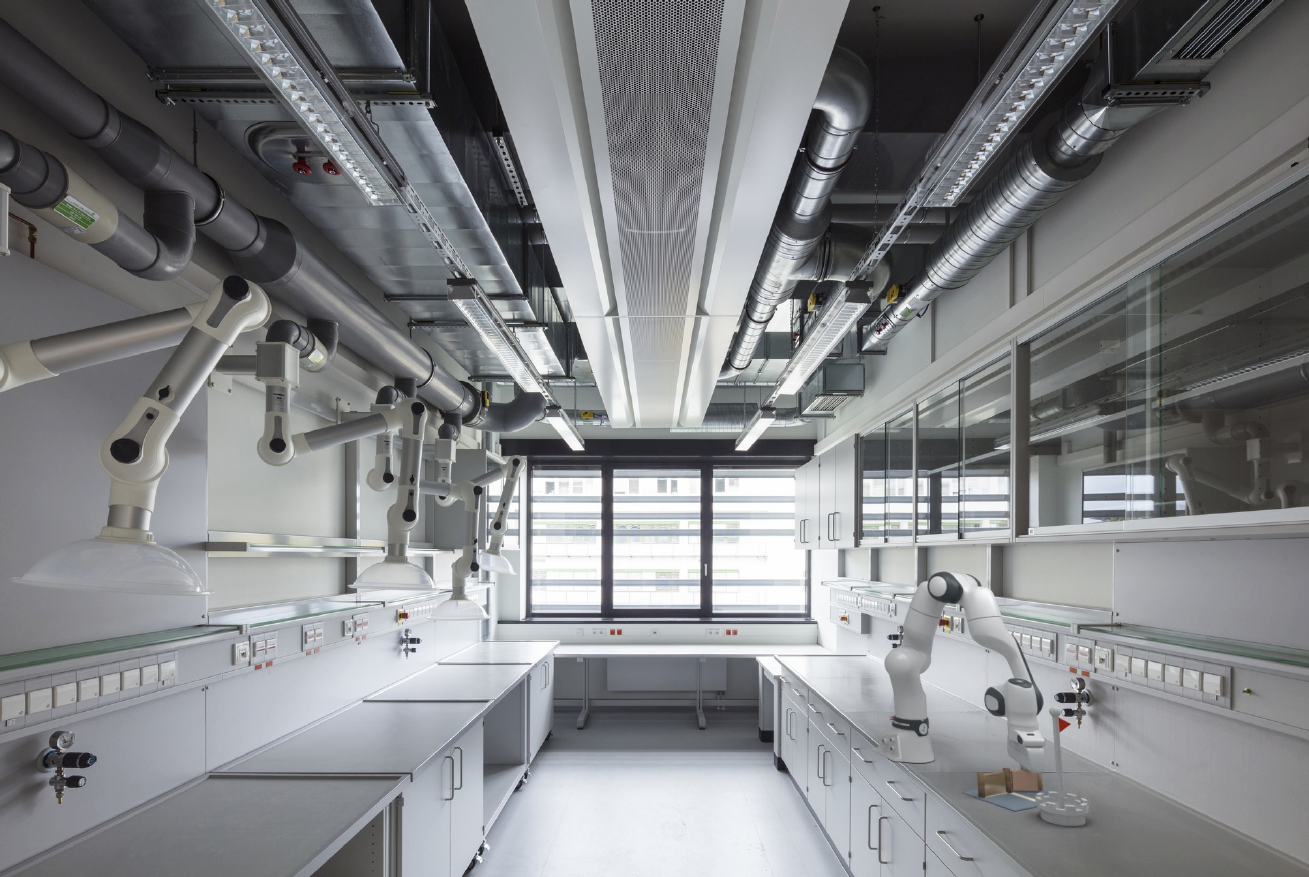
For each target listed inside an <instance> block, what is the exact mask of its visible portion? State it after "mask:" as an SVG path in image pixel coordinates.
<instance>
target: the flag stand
mask: <svg viewBox="0 0 1309 877" xmlns="http://www.w3.org/2000/svg"><path fill="white" fill-rule="evenodd" d="M1048 713H1049V715H1050V716H1051V717H1052V718H1051V720H1052V731H1053V732H1052V733H1053V743H1054V745H1053V746H1054V757H1055V758H1054V760H1055V774H1056V786H1057V791H1048V796H1044V793H1041V792H1040V793H1037V794H1036V797H1035V798H1036V806H1037V807H1036V808H1038V809H1039V811H1040V818H1041V819H1042V820H1044V821H1045V822H1048V823H1049V824H1054V825H1057V826H1063V827H1079V826H1084V825H1085V824H1086V815H1088V813H1089V812H1090V809H1089V808H1090V807H1089V802H1088V799H1086V798H1084V797H1080V799H1078V796H1077V795H1076V794H1072V793H1068V792H1067V793H1066V796H1065V792H1064V774H1063V763H1062V762H1063V760H1062V750H1061V749H1062V747H1061V738H1060V737H1061V736H1060V733H1061V732H1063V731H1064V730H1065V729H1067V728H1068V727H1069V726H1071V725H1072V724H1071V723H1070V722H1068V721H1067V720H1065V719H1062V718H1061V717H1060V716H1061V709H1060V708H1059V707H1058V706H1055V705H1054V706H1053V705H1052V706H1050V707H1049V709H1048Z"/></svg>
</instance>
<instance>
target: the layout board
mask: <svg viewBox="0 0 1309 877" xmlns="http://www.w3.org/2000/svg"><path fill="white" fill-rule="evenodd" d="M1011 786H1012V782H1011ZM1040 792H1041V793H1044V796H1048V792H1049V791H1047V790H1044V789H1043V791H1021V790H1012V792H1011V793H1008V792H1006V793H1002V794H997V795H992V796H987V797H985V798H981V797H978V788H977V789H973V790H967V791H962V794H964V795H967V796H969V797H972V798H975V799H977V800H981V801H983V802H985V803H986V802H987V803H989V804H992V805H995V806H998V807H1001V808H1003V809H1005V810H1009V811H1011V812H1014V813H1016V812H1020V811H1025V810H1030V809H1033V808H1034V809H1035V808H1038V807H1037V806H1036V798H1035V797H1036V794H1037V793H1040Z"/></svg>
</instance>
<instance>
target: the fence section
mask: <svg viewBox="0 0 1309 877" xmlns="http://www.w3.org/2000/svg"><path fill="white" fill-rule="evenodd" d="M1010 771H1011V783H1012V790H1021V791H1043V790H1044V789H1043V785H1044V784H1043V775H1042V774H1043V773H1042V774H1037V773H1031V772H1030V771H1024V770H1021V769H1020V770H1016V769H1015V770H1011V769H1010Z"/></svg>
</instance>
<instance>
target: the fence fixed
mask: <svg viewBox="0 0 1309 877" xmlns="http://www.w3.org/2000/svg"><path fill="white" fill-rule="evenodd" d="M976 780H977V789H978V797H981V798H985V797H987V796H992V795H997V794H1002V793H1006V792H1008V793H1011V792H1012V786H1011V783H1012V781H1011V768H1009V767H1002V770H1001V771H1000V770H999V771H994V772H989V773H984V772H976Z"/></svg>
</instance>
